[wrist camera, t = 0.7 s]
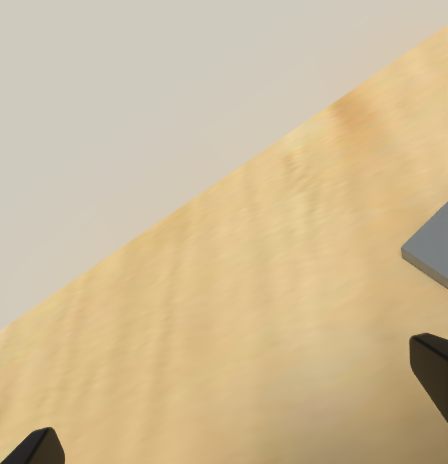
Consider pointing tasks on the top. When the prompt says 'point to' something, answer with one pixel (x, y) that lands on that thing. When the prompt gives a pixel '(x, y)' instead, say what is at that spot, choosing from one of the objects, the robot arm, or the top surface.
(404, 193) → the top surface
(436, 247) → the pin tray
